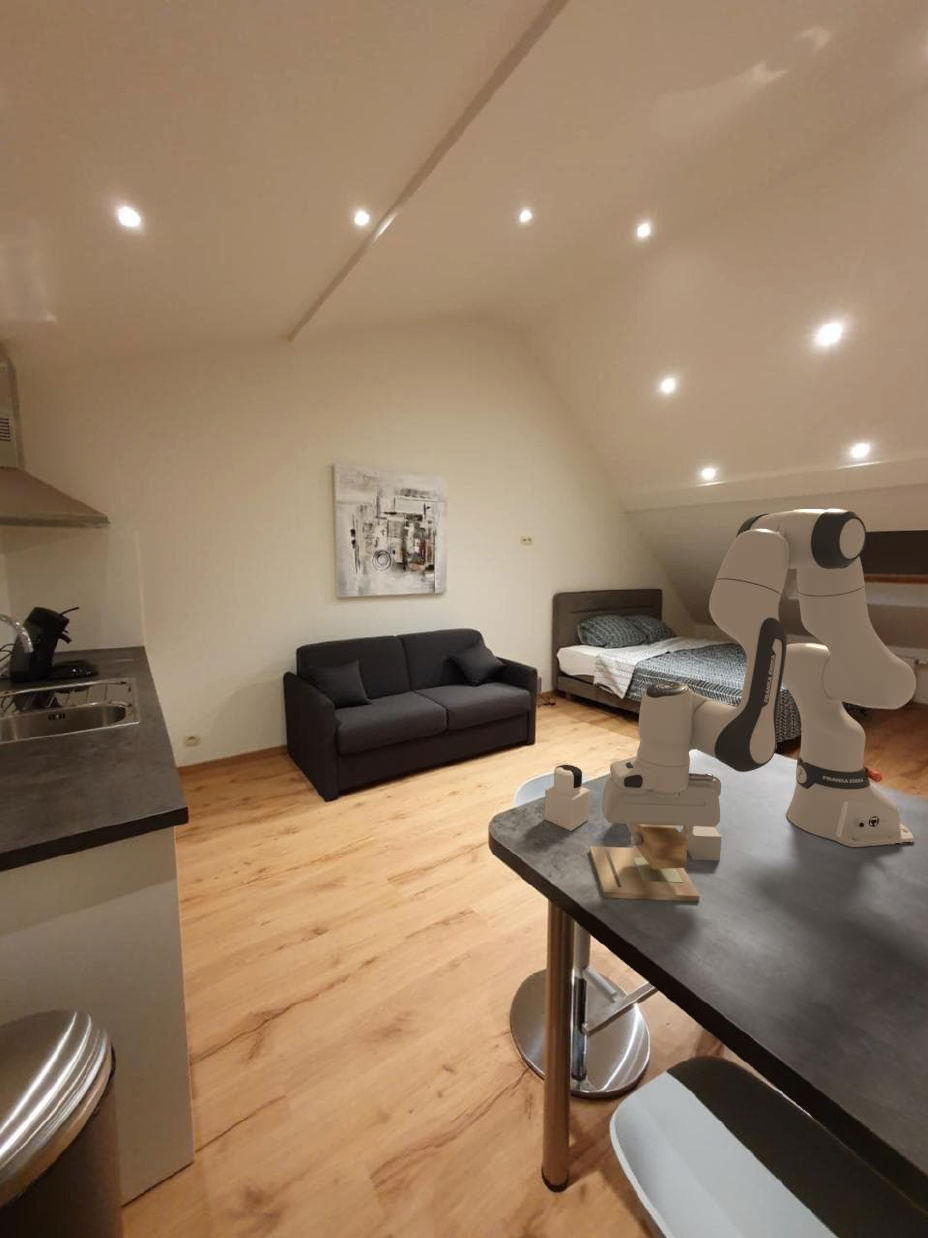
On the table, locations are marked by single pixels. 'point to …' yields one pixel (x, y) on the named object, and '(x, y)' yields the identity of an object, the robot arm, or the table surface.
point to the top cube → (704, 843)
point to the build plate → (639, 876)
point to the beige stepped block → (567, 798)
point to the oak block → (662, 846)
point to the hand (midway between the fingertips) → (657, 844)
